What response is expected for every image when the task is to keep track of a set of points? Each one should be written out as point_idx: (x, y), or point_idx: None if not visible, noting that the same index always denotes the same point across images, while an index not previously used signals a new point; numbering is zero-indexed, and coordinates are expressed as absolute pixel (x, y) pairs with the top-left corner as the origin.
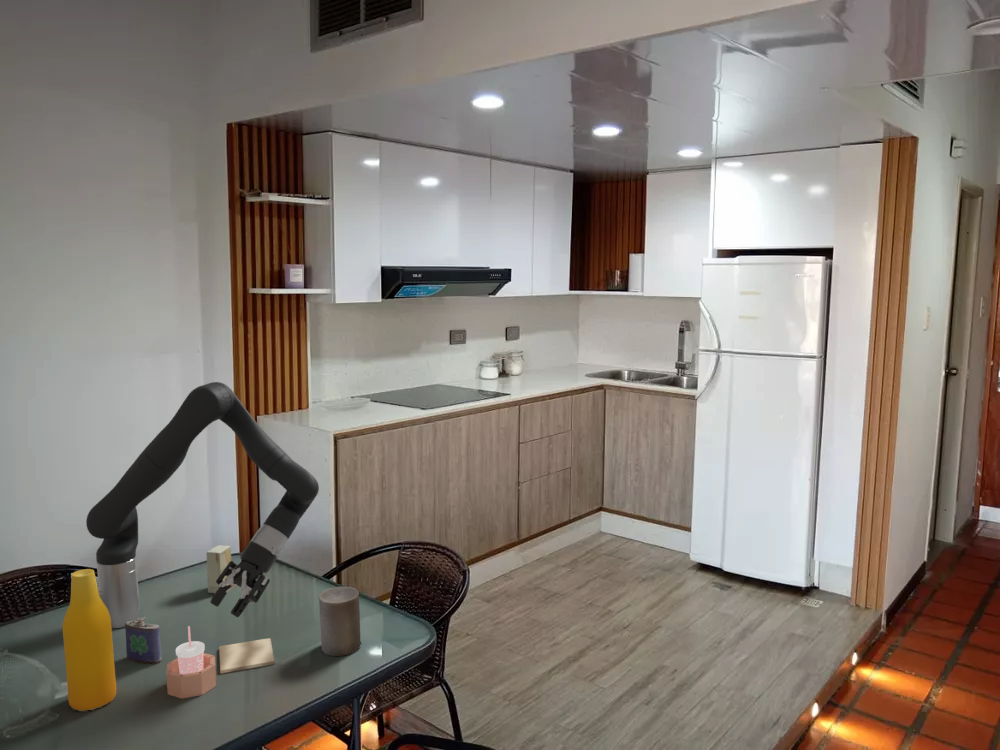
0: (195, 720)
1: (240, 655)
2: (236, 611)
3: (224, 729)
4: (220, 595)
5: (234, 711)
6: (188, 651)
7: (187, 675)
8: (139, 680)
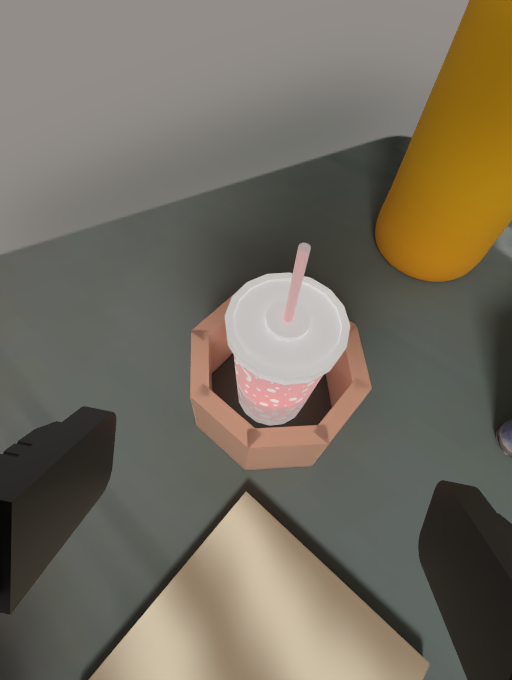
0: (122, 283)
1: (267, 646)
2: (49, 427)
3: (19, 287)
4: (474, 597)
5: (41, 351)
6: (270, 302)
7: (226, 305)
8: (430, 343)
